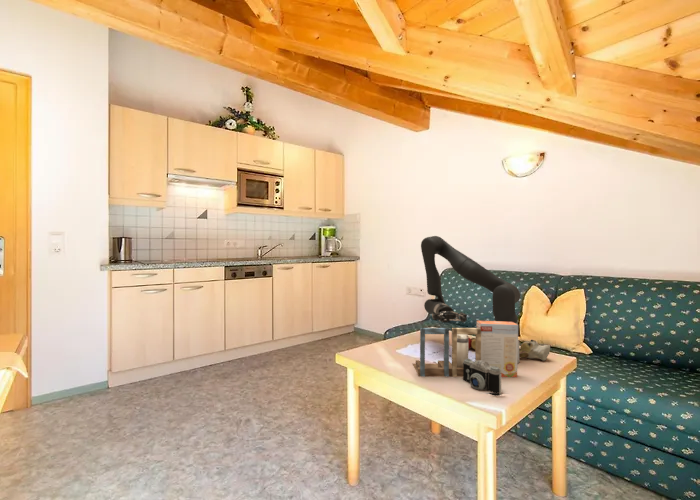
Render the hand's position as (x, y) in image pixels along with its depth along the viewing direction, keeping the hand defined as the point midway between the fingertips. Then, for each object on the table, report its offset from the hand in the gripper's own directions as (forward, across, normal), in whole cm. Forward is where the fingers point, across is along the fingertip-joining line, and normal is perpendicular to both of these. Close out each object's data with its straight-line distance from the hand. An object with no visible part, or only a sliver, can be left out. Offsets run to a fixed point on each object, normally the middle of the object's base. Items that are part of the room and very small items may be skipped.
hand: (453, 320), depth 144 cm
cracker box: (+13, +12, +19) cm, 26 cm away
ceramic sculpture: (-8, +37, +19) cm, 42 cm away
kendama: (-21, +19, +19) cm, 34 cm away
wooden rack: (+9, -6, +19) cm, 22 cm away
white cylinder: (+10, 0, +18) cm, 20 cm away
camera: (+25, +2, +19) cm, 31 cm away
